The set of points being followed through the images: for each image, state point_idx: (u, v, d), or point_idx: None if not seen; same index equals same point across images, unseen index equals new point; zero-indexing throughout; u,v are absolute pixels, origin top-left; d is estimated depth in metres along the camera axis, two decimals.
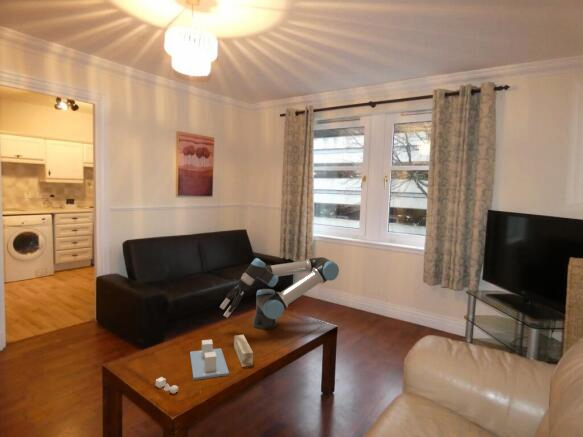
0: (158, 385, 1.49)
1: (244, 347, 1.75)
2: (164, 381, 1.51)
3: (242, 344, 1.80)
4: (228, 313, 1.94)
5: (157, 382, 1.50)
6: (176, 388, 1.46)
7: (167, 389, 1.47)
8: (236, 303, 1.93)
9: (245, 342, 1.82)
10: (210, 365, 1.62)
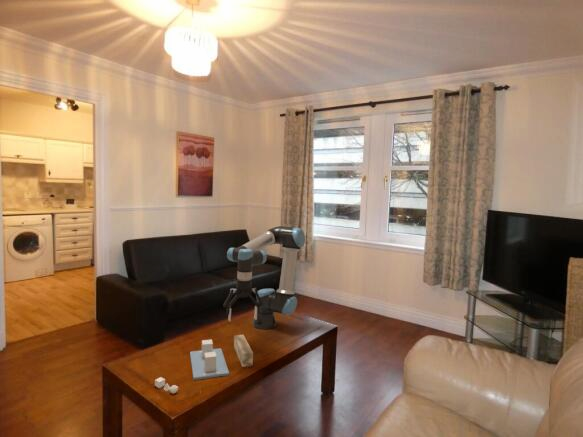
0: (157, 385, 1.49)
1: (244, 347, 1.75)
2: (163, 381, 1.51)
3: (242, 344, 1.80)
4: None
5: (156, 382, 1.49)
6: (176, 388, 1.46)
7: (167, 389, 1.47)
8: (261, 300, 1.82)
9: (245, 342, 1.82)
10: (210, 365, 1.62)
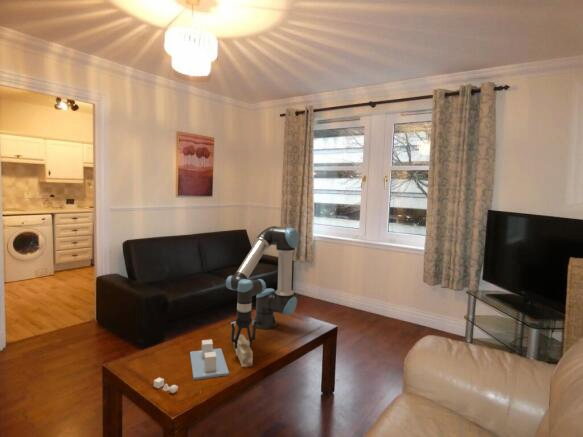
0: (156, 385, 1.49)
1: (244, 347, 1.75)
2: (162, 381, 1.50)
3: (242, 343, 1.80)
4: None
5: (155, 383, 1.49)
6: (176, 387, 1.46)
7: (166, 389, 1.47)
8: None
9: (245, 342, 1.82)
10: (210, 365, 1.62)
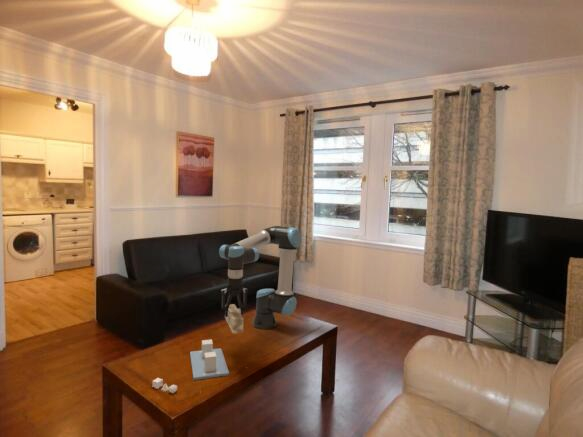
0: (155, 386, 1.49)
1: (235, 314, 1.71)
2: (161, 382, 1.50)
3: (233, 311, 1.75)
4: None
5: (154, 383, 1.49)
6: (175, 387, 1.46)
7: (165, 389, 1.47)
8: None
9: (236, 310, 1.77)
10: (210, 365, 1.62)
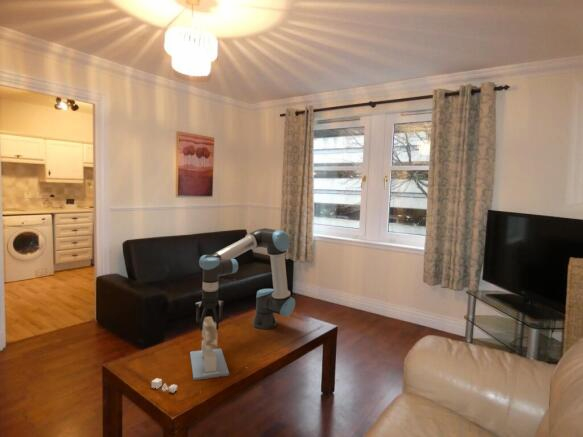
0: (155, 386, 1.48)
1: (209, 329, 1.64)
2: (160, 382, 1.50)
3: (208, 325, 1.69)
4: None
5: (153, 383, 1.49)
6: (175, 387, 1.46)
7: (165, 389, 1.47)
8: None
9: (212, 323, 1.71)
10: (210, 365, 1.62)
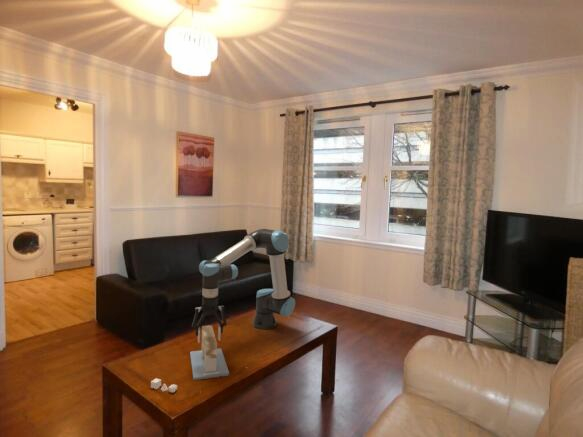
0: (154, 386, 1.48)
1: (209, 338, 1.65)
2: (160, 382, 1.50)
3: (208, 334, 1.69)
4: (219, 334, 1.72)
5: (153, 384, 1.48)
6: (175, 387, 1.47)
7: (165, 389, 1.47)
8: (225, 320, 1.72)
9: (211, 333, 1.71)
10: (210, 365, 1.62)
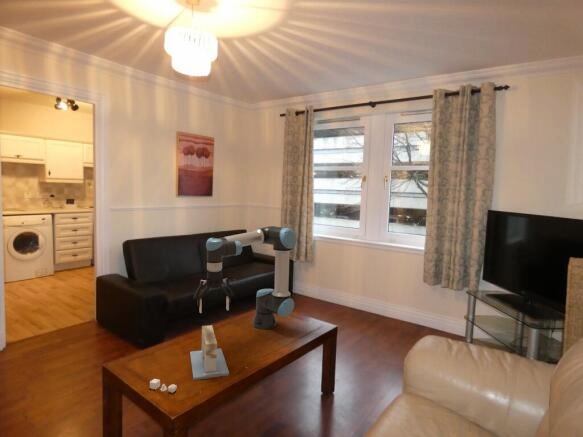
0: (153, 387, 1.48)
1: (209, 338, 1.65)
2: (159, 382, 1.50)
3: (208, 334, 1.69)
4: None
5: (152, 384, 1.48)
6: (175, 387, 1.47)
7: (164, 389, 1.47)
8: (232, 291, 1.79)
9: (211, 333, 1.71)
10: (210, 365, 1.62)
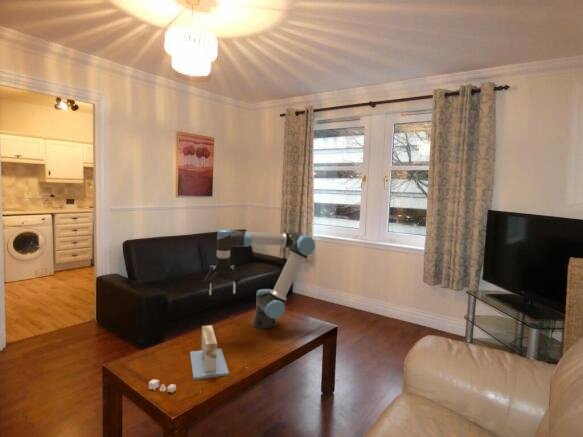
0: (152, 387, 1.48)
1: (209, 338, 1.65)
2: (158, 382, 1.49)
3: (208, 334, 1.69)
4: None
5: (151, 384, 1.48)
6: (174, 386, 1.47)
7: (163, 389, 1.47)
8: None
9: (211, 333, 1.71)
10: (210, 365, 1.62)
